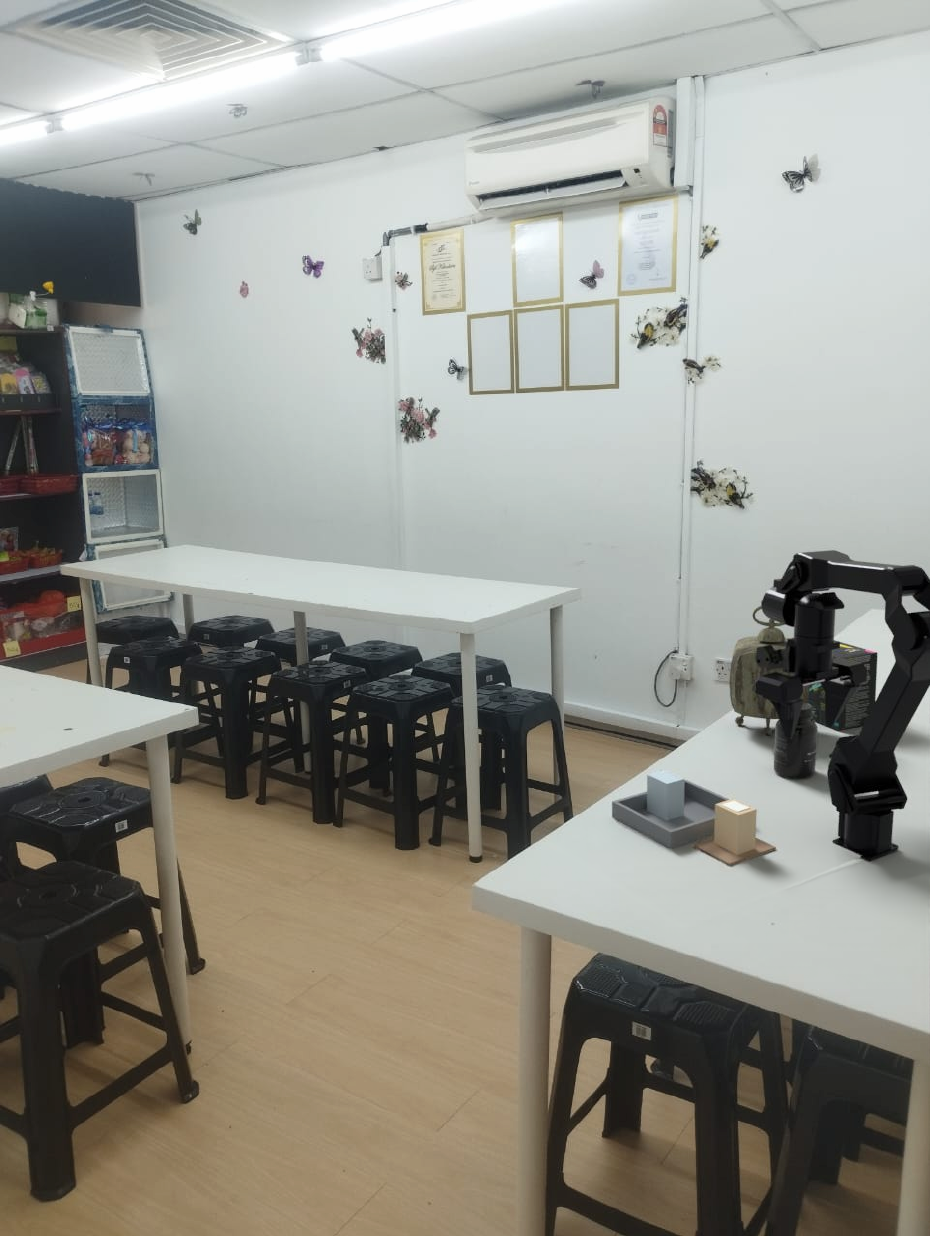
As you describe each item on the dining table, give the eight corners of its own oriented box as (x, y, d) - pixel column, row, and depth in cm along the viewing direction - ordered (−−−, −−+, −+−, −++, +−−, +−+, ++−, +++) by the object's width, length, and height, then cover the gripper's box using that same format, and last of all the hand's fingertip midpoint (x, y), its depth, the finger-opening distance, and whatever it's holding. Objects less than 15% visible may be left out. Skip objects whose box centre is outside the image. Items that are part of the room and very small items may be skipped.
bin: (746, 825, 146) (747, 807, 146) (670, 851, 139) (670, 832, 138) (685, 797, 158) (686, 779, 157) (612, 819, 150) (612, 801, 150)
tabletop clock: (806, 726, 189) (812, 601, 183) (807, 742, 180) (814, 611, 175) (729, 721, 193) (733, 598, 187) (727, 736, 185) (731, 608, 179)
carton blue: (683, 815, 150) (684, 778, 148) (666, 820, 148) (667, 783, 147) (663, 805, 154) (664, 769, 152) (646, 810, 152) (647, 774, 150)
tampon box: (875, 724, 189) (880, 651, 185) (837, 732, 185) (841, 657, 182) (835, 709, 198) (838, 639, 195) (798, 715, 195) (801, 645, 192)
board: (775, 852, 138) (775, 847, 138) (729, 869, 133) (729, 863, 133) (738, 834, 144) (738, 829, 144) (693, 849, 139) (693, 844, 139)
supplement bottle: (818, 781, 162) (821, 712, 160) (775, 779, 164) (778, 711, 161) (812, 765, 169) (815, 700, 166) (771, 764, 170) (773, 698, 168)
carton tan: (755, 848, 137) (756, 808, 136) (737, 855, 136) (738, 814, 134) (731, 837, 141) (733, 797, 140) (714, 843, 140) (715, 803, 138)
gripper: (813, 616, 157) (808, 708, 161) (729, 632, 148) (726, 729, 152) (872, 628, 148) (866, 725, 151) (786, 647, 139) (782, 750, 142)
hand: (809, 732), depth 149 cm, fingers open, 9 cm apart
